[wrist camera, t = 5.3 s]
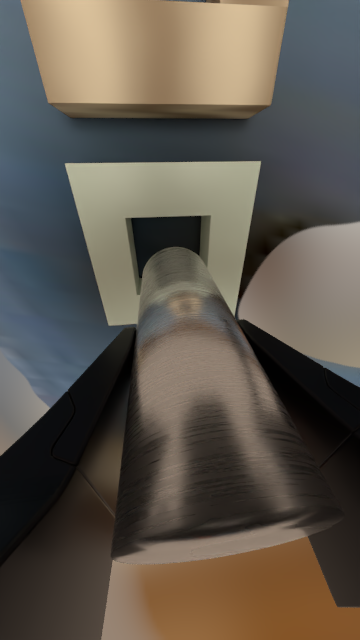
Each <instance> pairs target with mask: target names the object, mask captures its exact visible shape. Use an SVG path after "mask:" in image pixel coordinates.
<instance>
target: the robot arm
mask: <svg viewBox="0 0 360 640" xmlns="http://www.w3.org/2000/svg"><path fill="white" fill-rule="evenodd" d="M236 321H237V322H238V324H239V326H240V328H241V330H242V331H243V333H244V335H245V337H246V339H247V340H248V342H249V344H250V346H251V347H252V349H253V351H254V353H255V355H256V356H257V358H258V360H259V362H260V364H261V365H262V367H263V369H264V371H265V372H266V374H267V376H268V378H269V380H270V381H271V383H272V385H273V387H274V388H275V390H276V392H277V394H278V396H279V397H280V399H281V401H282V403H283V405H284V406H285V408H286V410H287V412H288V413H289V415H290V417H291V419H292V421H293V422H294V424H295V426H296V428H297V430H298V431H299V433H300V435H301V437H302V438H303V440H304V442H305V444H306V446H307V447H308V449H309V451H310V453H311V455H312V456H313V458H314V460H315V462H316V463H317V465H318V467H319V469H320V471H321V472H322V474H323V476H324V478H325V480H326V481H327V483H328V485H329V487H330V488H331V490H332V492H333V494H334V496H335V497H336V499H337V501H338V503H339V504H340V506H341V508H342V510H343V512H344V513H345V516H344V518H343V519H342V520H341V521H340V522H338V523H337V524H335V525H333V526H331V527H329V528H327V529H325V530H322V531H320V532H317V533H315V534H312V535H309V536H308V538H309V541H310V543H311V545H312V548H313V550H314V552H315V555H316V558H317V560H318V562H319V565H320V567H321V570H322V572H323V575H324V577H325V580H326V582H327V584H328V587H329V589H330V592H331V594H332V596H333V598H334V601H335V603H336V605H337V607H360V387H358V386H356V385H354V384H352V383H351V382H349V381H347V380H345V379H344V378H342V377H340V376H339V375H337V374H335V373H333V372H332V371H330V370H328V369H327V368H323V366H322V365H320V364H318V363H317V362H315V361H313V360H312V359H310V358H308V357H307V356H305V355H303V354H302V353H300V352H298V351H297V350H295V349H293V348H292V347H290V346H288V345H286V344H285V343H283V342H282V341H280V340H278V339H277V338H275V337H273V336H272V335H270V334H268V333H267V332H265V331H263V330H261V329H260V328H258V327H256V326H255V325H253V324H251V323H250V322H248V321H246V320H236ZM135 336H136V328H135V327H129V328H124V329H123V330H122V332H121V333H120V334H119V335H118V336H117V337H116V338H115V339H114V340H113V341H112V342H111V344H110V345H109V346H108V347H107V348H106V349H105V350H104V351H103V352H102V353H101V354H100V355H99V357H98V358H97V359H96V360H95V361H94V362H93V363H92V364H91V365H90V366H89V367H88V368H87V370H86V371H85V372H84V373H83V374H82V375H81V376H80V377H79V378H78V379H77V380H76V382H75V383H74V384H73V385H72V386H71V387H70V388H69V389H68V391H67V392H65V393H64V394H63V395H62V397H61V398H60V399H59V400H58V401H57V402H56V403H55V404H54V405H53V406H52V407H51V408H50V409H49V410H48V411H47V412H46V414H44V416H42V417H41V418H40V419H39V420H38V421H37V422H36V423H35V424H34V425H33V426H32V427H31V428H30V429H29V430H28V431H27V432H26V433H25V434H24V435H23V436H21V437H20V438H19V439H18V440H17V441H16V442H15V443H14V444H13V445H12V446H11V447H10V448H8V449H7V450H6V451H5V452H4V453H3V454H2V455H1V456H0V640H101V636H102V629H103V623H104V616H105V609H106V602H107V594H108V588H109V581H110V573H111V567H112V560H113V559H112V558H111V547H112V539H113V530H114V521H115V512H116V503H117V495H118V486H119V477H120V468H121V459H122V451H123V442H124V433H125V424H126V415H127V407H128V398H129V389H130V380H131V371H132V363H133V354H134V345H135Z"/></svg>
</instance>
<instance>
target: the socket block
mask: <svg viewBox="0 0 360 640" xmlns="http://www.w3.org/2000/svg"><path fill="white" fill-rule="evenodd" d="M288 3H289V0H206V3H201V2H181V1H161V0H21V4H22V7H23V11H24V15H25V18H26V22H27V26H28V29H29V33H30V37H31V40H32V44H33V48H34V52H35V55H36V59H37V63H38V66H39V70H40V74H41V77H42V81H43V85H44V88H45V92H46V96H47V100H48V103H49V104H51V105H52V106H54V107H55V108H57V109H58V110H60V111H61V112H63V113H64V114H66V115H67V116H69V117H70V118H219V119H248V118H250V117H251V116H253V115H255V114H257V113H258V112H260V111H262V110H263V109H265V108H267V107H268V106H270V105H271V101H272V95H273V89H274V84H275V78H276V72H277V66H278V60H279V55H280V49H281V43H282V37H283V32H284V26H285V20H286V14H287V8H288Z"/></svg>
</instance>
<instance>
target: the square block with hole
mask: <svg viewBox="0 0 360 640" xmlns="http://www.w3.org/2000/svg"><path fill="white" fill-rule="evenodd" d="M260 165H261V161H239V162H150V163H65V166H66V170H67V173H68V177H69V181H70V185H71V188H72V192H73V196H74V199H75V203H76V207H77V210H78V214H79V218H80V222H81V225H82V229H83V233H84V236H85V240H86V244H87V247H88V251H89V255H90V258H91V262H92V266H93V270H94V273H95V277H96V281H97V284H98V288H99V292H100V295H101V299H102V303H103V306H104V310H105V314H106V318H107V321H108V325H109V326H112V325H125V324H137V319H138V310H139V301H140V292H141V283H142V278H139V273H138V266H137V259H136V251H135V244H134V237H133V230H132V222H131V218H141V217H172V216H201V235H200V258H201V259H202V260H203V262H204V264H205V265H206V267H207V269H208V271H209V273H210V274H211V276H212V278H213V280H214V281H215V283H216V285H217V287H218V289H219V290H220V292H221V294H222V296H223V297H224V299H225V301H226V303H227V305H228V306H229V308H230V310H231V312H232V314H233V315H235V310H236V304H237V298H238V292H239V286H240V281H241V275H242V269H243V263H244V257H245V252H246V246H247V240H248V234H249V228H250V223H251V217H252V211H253V205H254V200H255V194H256V188H257V182H258V176H259V171H260Z"/></svg>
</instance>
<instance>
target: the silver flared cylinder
mask: <svg viewBox="0 0 360 640" xmlns="http://www.w3.org/2000/svg"><path fill="white" fill-rule="evenodd" d="M344 516H345V513H344V512H343V510H342V508H341V506H340V504H339V503H338V501H337V499H336V497H335V496H334V494H333V492H332V490H331V488H330V487H329V485H328V483H327V481H326V480H325V478H324V476H323V474H322V472H321V471H320V469H319V467H318V465H317V463H316V462H315V460H314V458H313V456H312V455H311V453H310V451H309V449H308V447H307V446H306V444H305V442H304V440H303V438H302V437H301V435H300V433H299V431H298V430H297V428H296V426H295V424H294V422H293V421H292V419H291V417H290V415H289V413H288V412H287V410H286V408H285V406H284V405H283V403H282V401H281V399H280V397H279V396H278V394H277V392H276V390H275V388H274V387H273V385H272V383H271V381H270V380H269V378H268V376H267V374H266V372H265V371H264V369H263V367H262V365H261V364H260V362H259V360H258V358H257V356H256V355H255V353H254V351H253V349H252V347H251V346H250V344H249V342H248V340H247V339H246V337H245V335H244V333H243V331H242V330H241V328H240V326H239V324H238V322H237V321H236V319H235V317H234V315H233V314H232V312H231V310H230V308H229V306H228V305H227V303H226V301H225V299H224V297H223V296H222V294H221V292H220V290H219V289H218V287H217V285H216V283H215V281H214V280H213V278H212V276H211V274H210V273H209V271H208V269H207V267H206V265H205V264H204V262H203V260H202V259H201V258H200V257H199V256H198V255H197V254H196V253H194V252H193V251H191V250H189V249H186V248H182V247H170V248H166V249H163V250H161V251H159V252H157V253H156V254H154V255H153V256H152V257H151V258H150V259H149V260H148V262H147V263H146V265H145V267H144V270H143V275H142V283H141V292H140V301H139V310H138V319H137V327H136V336H135V345H134V354H133V363H132V371H131V380H130V389H129V398H128V407H127V415H126V424H125V433H124V442H123V451H122V459H121V468H120V477H119V486H118V495H117V503H116V512H115V521H114V530H113V539H112V547H111V558H112V559H113V560H114V561H117V562H121V563H127V564H165V563H177V562H187V561H195V560H202V559H209V558H216V557H221V556H228V555H233V554H238V553H244V552H249V551H253V550H258V549H262V548H266V547H271V546H275V545H279V544H282V543H286V542H290V541H293V540H296V539H300V538H303V537H306V536H309V535H312V534H315V533H317V532H320V531H322V530H325V529H327V528H329V527H331V526H333V525H335V524H337V523H338V522H340V521H341V520H342V519H343V518H344Z"/></svg>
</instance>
